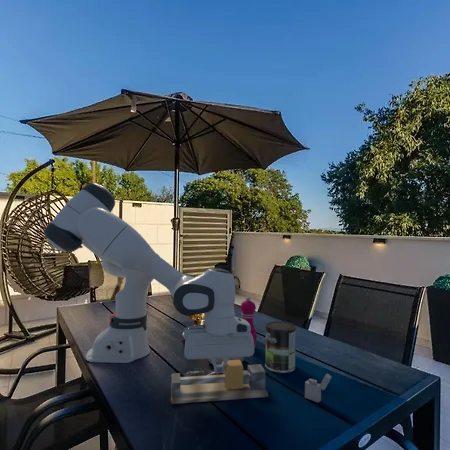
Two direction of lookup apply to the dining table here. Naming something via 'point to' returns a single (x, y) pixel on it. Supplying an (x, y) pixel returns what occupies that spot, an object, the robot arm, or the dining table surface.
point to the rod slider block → (217, 387)
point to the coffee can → (280, 346)
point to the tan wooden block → (233, 374)
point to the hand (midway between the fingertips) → (219, 372)
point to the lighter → (315, 388)
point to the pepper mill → (249, 316)
